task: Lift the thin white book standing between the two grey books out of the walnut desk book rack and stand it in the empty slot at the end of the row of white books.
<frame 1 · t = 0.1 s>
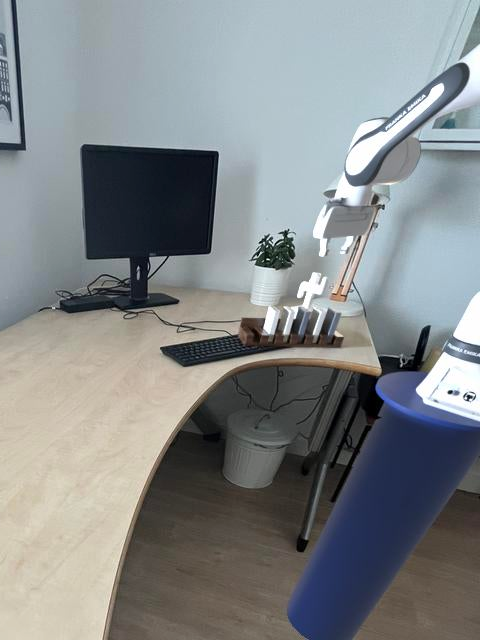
hand: (333, 254, 128), 23 cm above the table, tool pointing down, fingers open, 8 cm apart
grey book b: (295, 339, 137), point 1 cm above the table, touching book rack
figurine: (302, 319, 158), on the table
book rack: (287, 341, 138), on the table
white book b: (266, 338, 137), point 1 cm above the table, touching book rack
grey book a: (324, 340, 137), point 1 cm above the table, touching book rack
white book a: (281, 339, 137), point 1 cm above the table, touching book rack
white book: (310, 339, 137), point 1 cm above the table, touching book rack
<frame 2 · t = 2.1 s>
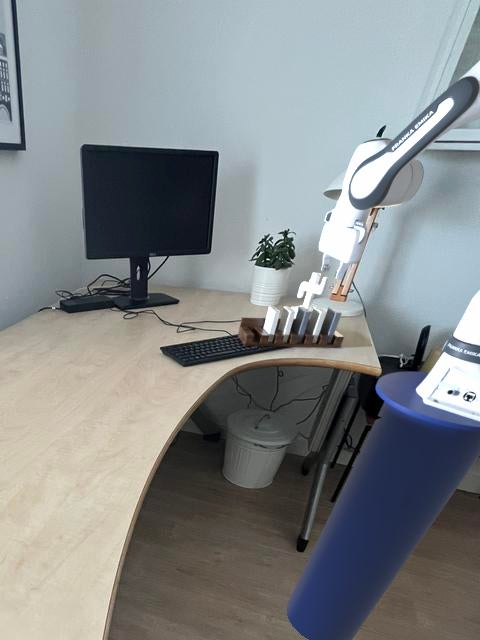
hand: (330, 275, 126), 19 cm above the table, tool pointing down, fingers open, 8 cm apart
nothing on the table moved.
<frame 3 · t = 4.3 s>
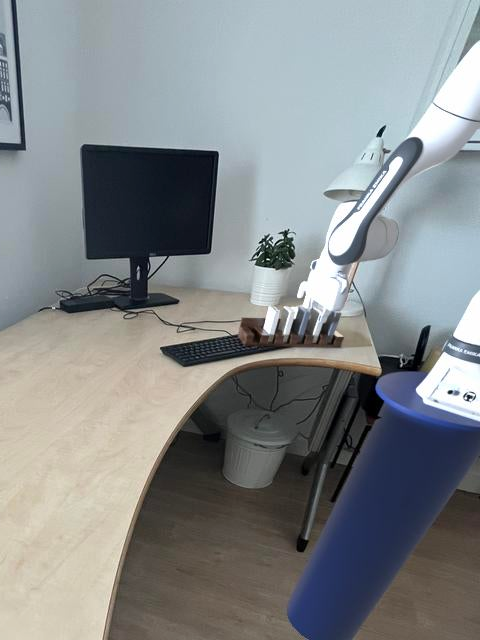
hand: (316, 318, 133), 7 cm above the table, tool pointing down, fingers closed on white book, 6 cm apart
white book: (310, 339, 137), point 1 cm above the table, touching book rack, gripper
everything else where it was.
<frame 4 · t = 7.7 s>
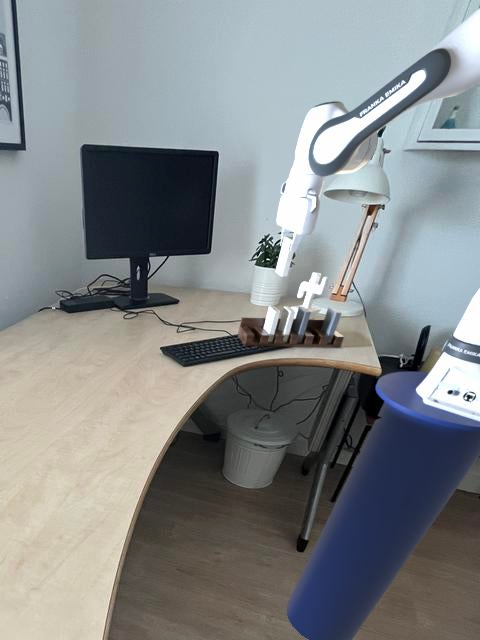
hand: (287, 249, 122), 25 cm above the table, tool pointing down, fingers closed on white book, 6 cm apart
white book: (281, 274, 126), point 19 cm above the table, touching gripper
everything else where it was.
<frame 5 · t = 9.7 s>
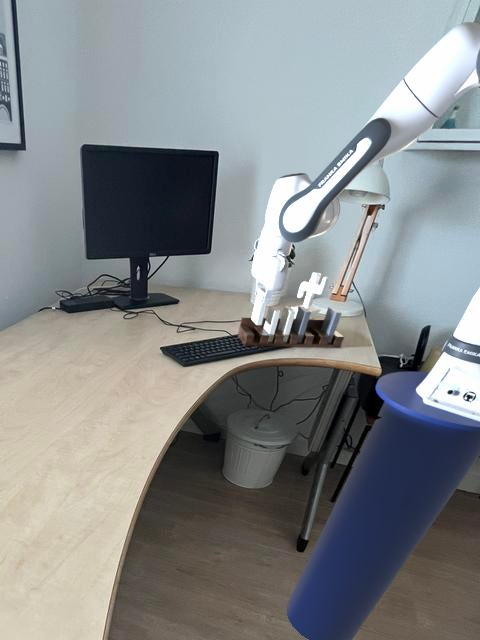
hand: (261, 299, 130), 12 cm above the table, tool pointing down, fingers closed on white book, 6 cm apart
white book: (256, 322, 134), point 6 cm above the table, touching gripper
everything else where it was.
when the fingers open (7 cm above the table, at t = 11.6 s): white book stays where it is, resting on book rack.
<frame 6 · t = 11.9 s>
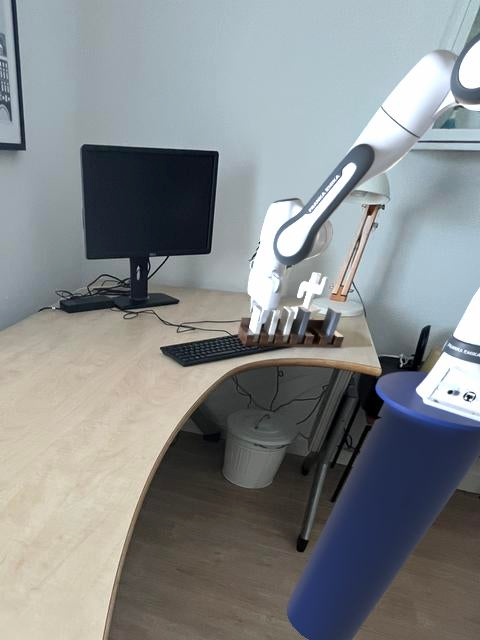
hand: (257, 318, 133), 7 cm above the table, tool pointing down, fingers open, 8 cm apart
white book: (252, 338, 137), point 1 cm above the table, touching book rack
everything else where it was.
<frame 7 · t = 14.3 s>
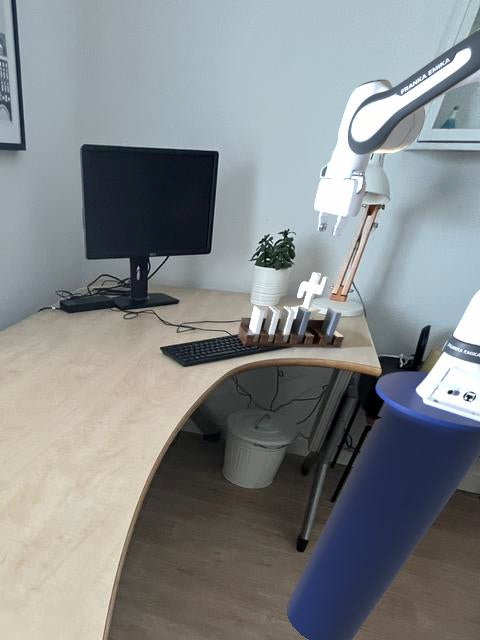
hand: (328, 233, 120), 29 cm above the table, tool pointing down, fingers open, 8 cm apart
nothing on the table moved.
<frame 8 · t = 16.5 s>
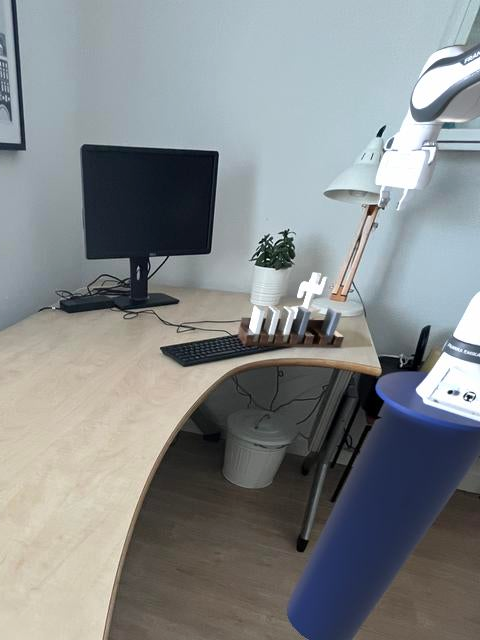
hand: (390, 208, 117), 35 cm above the table, tool pointing down, fingers open, 8 cm apart
nothing on the table moved.
at the end: white book 0.1 cm from the target spot on the book rack, point 0.8 cm above the book rack's base; white book tilted 0°; grey book b moved 0.0 cm from its start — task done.
